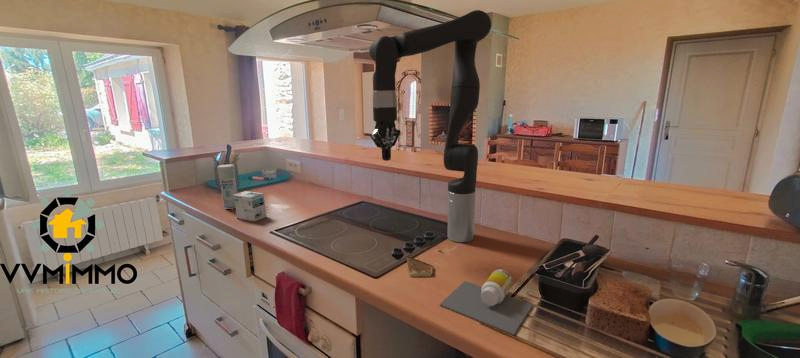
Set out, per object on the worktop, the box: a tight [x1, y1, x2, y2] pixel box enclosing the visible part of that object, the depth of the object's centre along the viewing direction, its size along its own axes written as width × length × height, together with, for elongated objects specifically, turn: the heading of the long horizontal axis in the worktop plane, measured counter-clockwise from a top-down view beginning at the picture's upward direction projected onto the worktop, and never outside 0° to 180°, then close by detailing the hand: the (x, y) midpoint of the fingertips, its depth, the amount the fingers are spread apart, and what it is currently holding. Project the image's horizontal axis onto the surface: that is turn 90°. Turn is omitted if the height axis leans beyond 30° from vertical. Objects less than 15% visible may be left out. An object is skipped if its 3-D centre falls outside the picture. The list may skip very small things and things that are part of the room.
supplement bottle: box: [481, 268, 514, 306], centre depth 84 cm, size 6×6×10 cm
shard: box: [406, 255, 435, 278], centre depth 101 cm, size 11×8×2 cm
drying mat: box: [439, 280, 534, 336], centre depth 82 cm, size 13×18×1 cm
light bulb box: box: [234, 190, 267, 223], centre depth 145 cm, size 11×7×11 cm, turn 65°
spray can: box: [217, 164, 238, 210], centre depth 157 cm, size 6×6×20 cm
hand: (386, 160), depth 112 cm, fingers closed
